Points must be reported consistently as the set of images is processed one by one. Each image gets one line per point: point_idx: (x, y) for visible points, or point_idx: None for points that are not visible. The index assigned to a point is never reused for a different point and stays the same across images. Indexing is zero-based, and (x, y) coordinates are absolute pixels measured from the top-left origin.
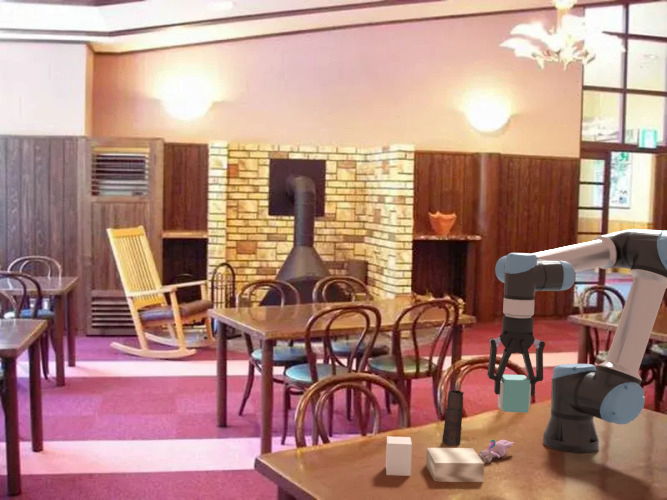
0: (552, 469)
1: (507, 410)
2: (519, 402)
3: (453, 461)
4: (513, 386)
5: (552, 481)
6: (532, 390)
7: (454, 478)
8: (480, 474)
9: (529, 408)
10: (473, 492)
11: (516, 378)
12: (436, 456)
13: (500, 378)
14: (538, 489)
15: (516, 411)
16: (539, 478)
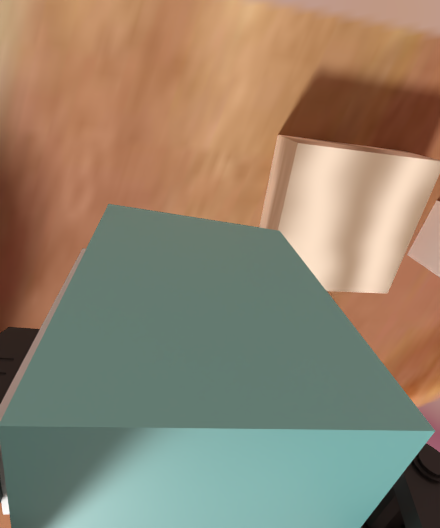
0: (22, 225)
1: (258, 231)
2: (180, 245)
3: (384, 171)
4: (279, 346)
5: (48, 114)
6: (3, 368)
7: (361, 146)
8: (294, 138)
9: (83, 252)
10: (349, 39)
11: (218, 500)
12: (405, 221)
13: (421, 484)
14: (123, 36)
15: (196, 220)
16: (88, 148)
